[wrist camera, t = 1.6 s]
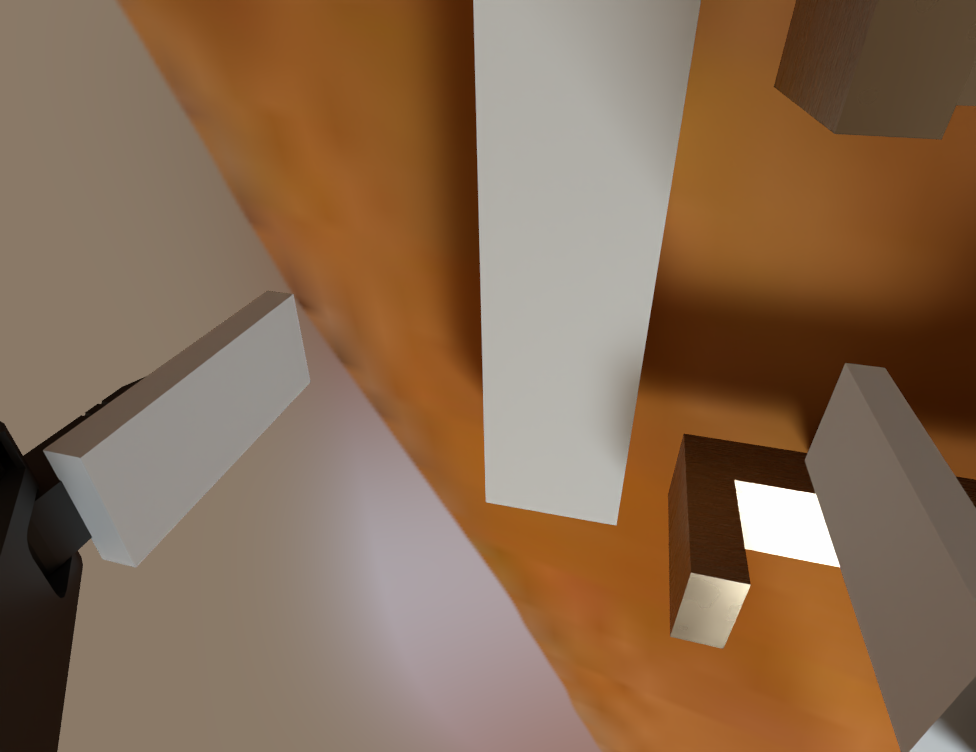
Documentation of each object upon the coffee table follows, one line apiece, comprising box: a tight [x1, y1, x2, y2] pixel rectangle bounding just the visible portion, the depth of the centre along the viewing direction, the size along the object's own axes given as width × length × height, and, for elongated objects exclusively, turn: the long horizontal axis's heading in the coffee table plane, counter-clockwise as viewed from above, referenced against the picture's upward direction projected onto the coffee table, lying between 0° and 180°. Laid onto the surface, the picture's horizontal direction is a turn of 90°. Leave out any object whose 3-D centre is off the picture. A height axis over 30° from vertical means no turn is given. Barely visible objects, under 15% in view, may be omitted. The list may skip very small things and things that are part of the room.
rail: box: [473, 0, 701, 525], centre depth 18 cm, size 18×5×5 cm, turn 1°
